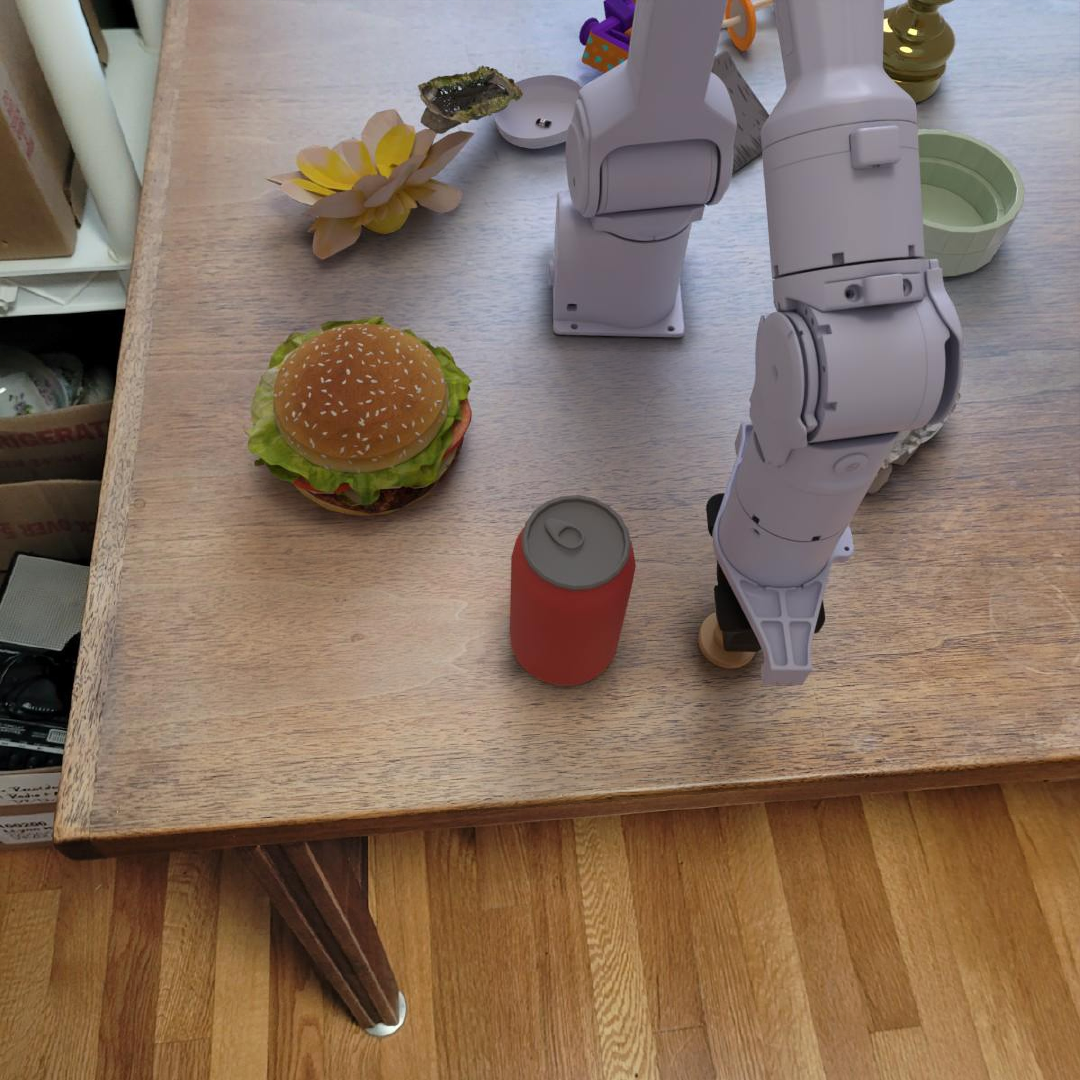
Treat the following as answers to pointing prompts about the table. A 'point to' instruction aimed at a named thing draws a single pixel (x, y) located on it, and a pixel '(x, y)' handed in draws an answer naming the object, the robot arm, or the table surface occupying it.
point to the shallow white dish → (539, 112)
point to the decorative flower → (372, 180)
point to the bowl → (965, 199)
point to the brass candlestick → (917, 46)
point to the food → (360, 416)
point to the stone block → (465, 98)
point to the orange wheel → (743, 20)
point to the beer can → (570, 589)
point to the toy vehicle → (612, 48)
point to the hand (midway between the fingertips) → (738, 617)
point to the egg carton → (905, 449)
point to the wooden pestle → (719, 646)
